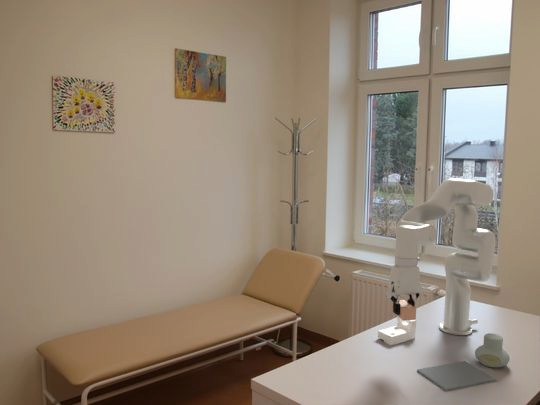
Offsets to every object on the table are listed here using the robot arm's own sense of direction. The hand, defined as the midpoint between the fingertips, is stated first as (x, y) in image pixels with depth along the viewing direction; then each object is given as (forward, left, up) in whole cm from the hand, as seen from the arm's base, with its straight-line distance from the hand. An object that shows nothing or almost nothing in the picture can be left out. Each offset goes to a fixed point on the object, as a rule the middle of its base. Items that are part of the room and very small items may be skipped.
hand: (403, 312), depth 172 cm
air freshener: (-28, +13, -18) cm, 35 cm away
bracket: (-10, -16, -18) cm, 26 cm away
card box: (0, 0, -1) cm, 1 cm away
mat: (-10, +16, -17) cm, 26 cm away
